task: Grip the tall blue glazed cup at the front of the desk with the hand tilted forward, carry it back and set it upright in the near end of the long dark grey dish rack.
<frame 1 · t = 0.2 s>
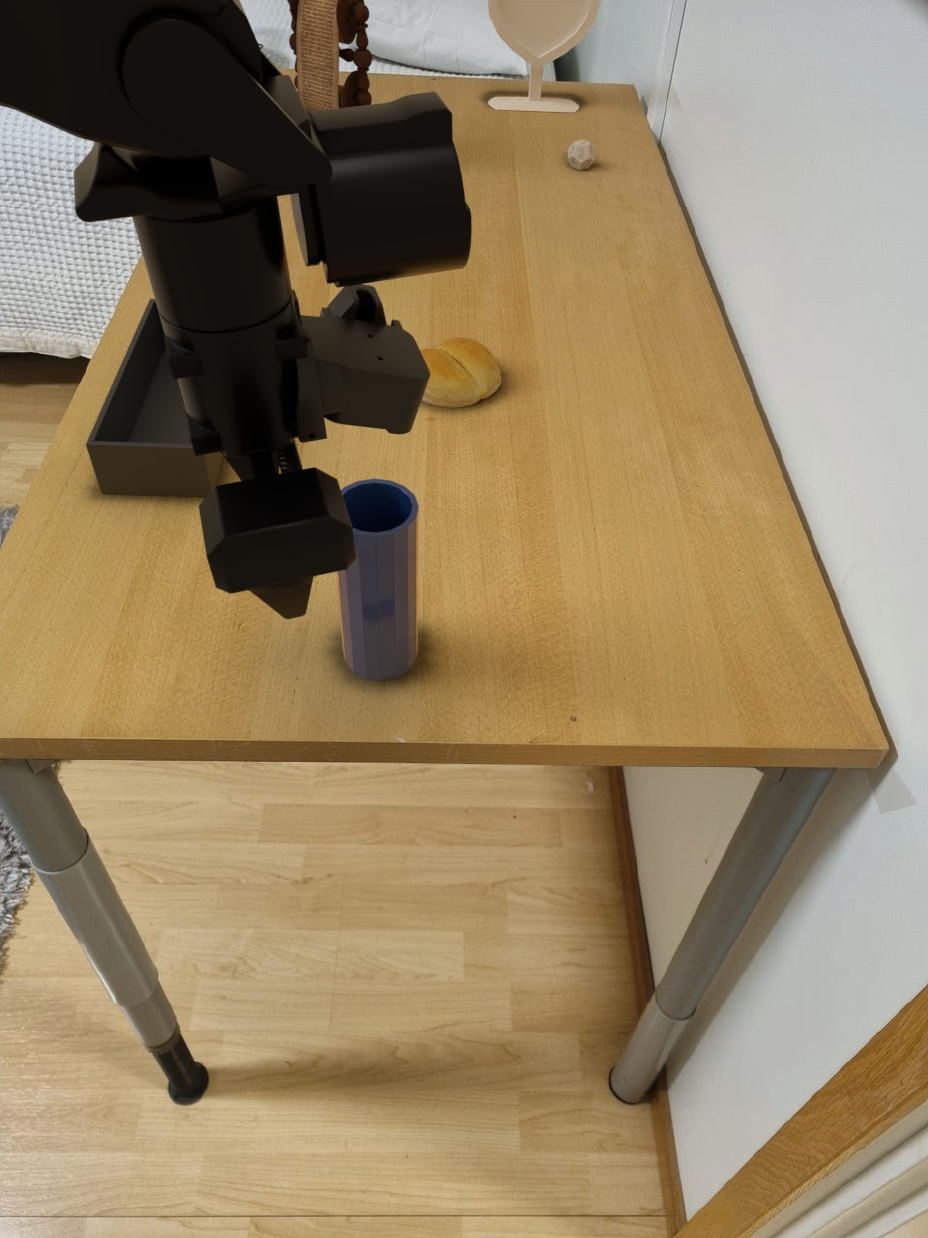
hand: (281, 555, 52), 15 cm above the table, tool pointing down, fingers open, 9 cm apart
cup: (380, 655, 66), on the table
basket: (185, 419, 84), on the table
heart sculpture: (533, 105, 138), on the table
bread roll: (452, 386, 89), on the table
game die: (579, 167, 124), on the table
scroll: (336, 157, 123), on the table
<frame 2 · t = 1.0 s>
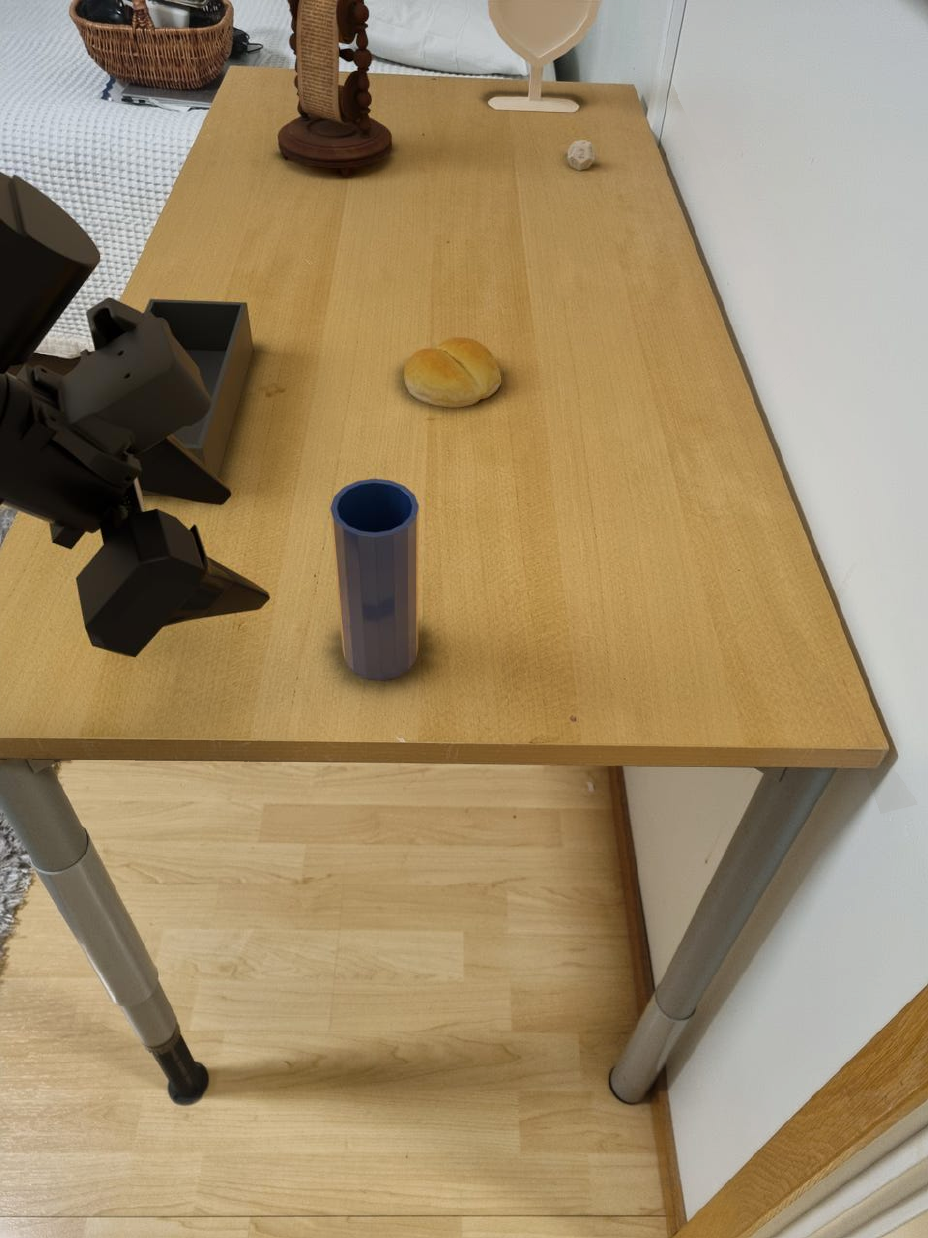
hand: (245, 547, 54), 13 cm above the table, tool tilted 45°, fingers open, 9 cm apart
nothing on the table moved.
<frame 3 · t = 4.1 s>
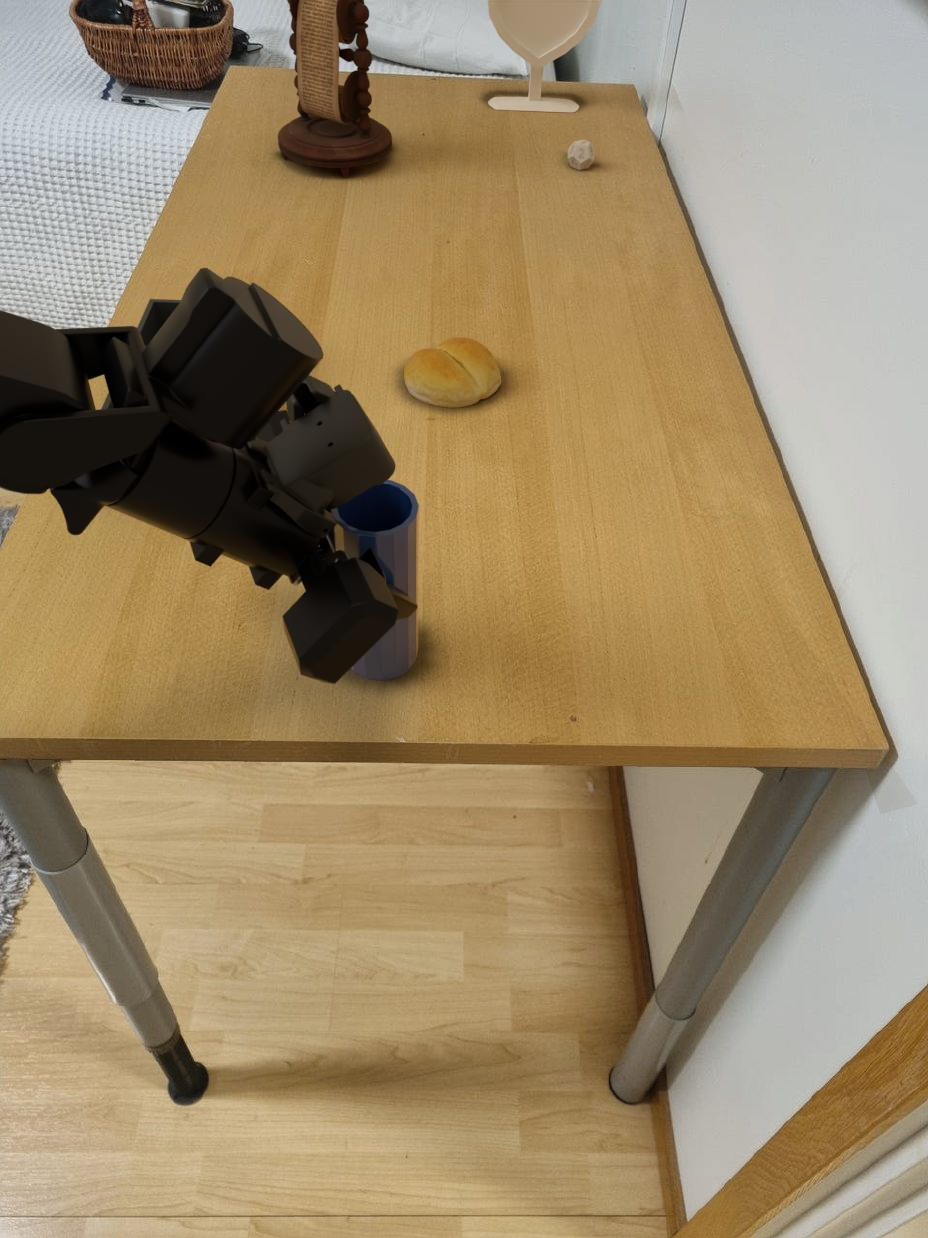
hand: (398, 581, 61), 7 cm above the table, tool tilted 45°, fingers closed on cup, 5 cm apart
cup: (381, 655, 66), on the table, touching gripper
everything else where it was.
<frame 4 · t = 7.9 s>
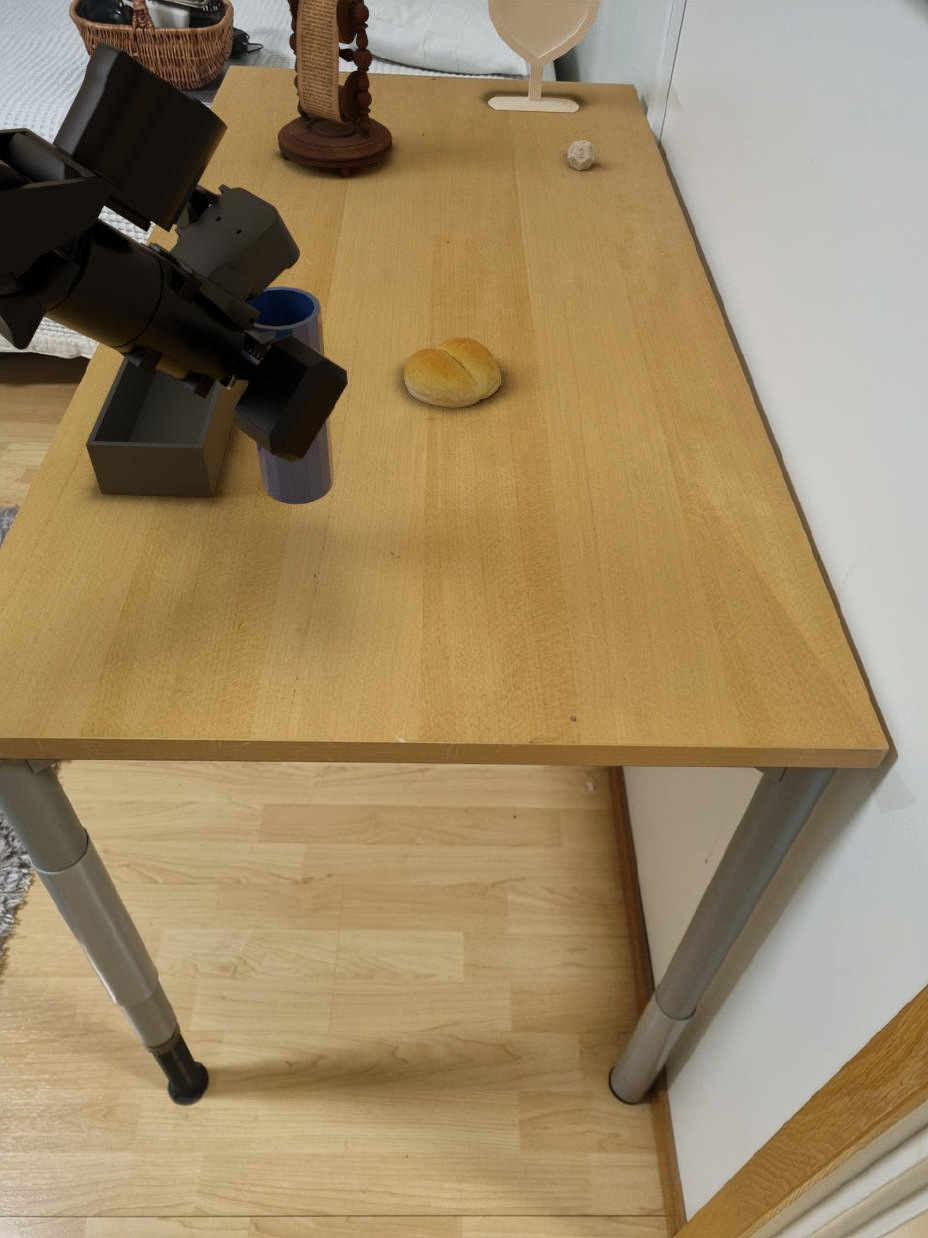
hand: (305, 392, 64), 13 cm above the table, tool tilted 45°, fingers closed on cup, 5 cm apart
cup: (298, 481, 69), point 6 cm above the table, touching gripper
everything else where it was.
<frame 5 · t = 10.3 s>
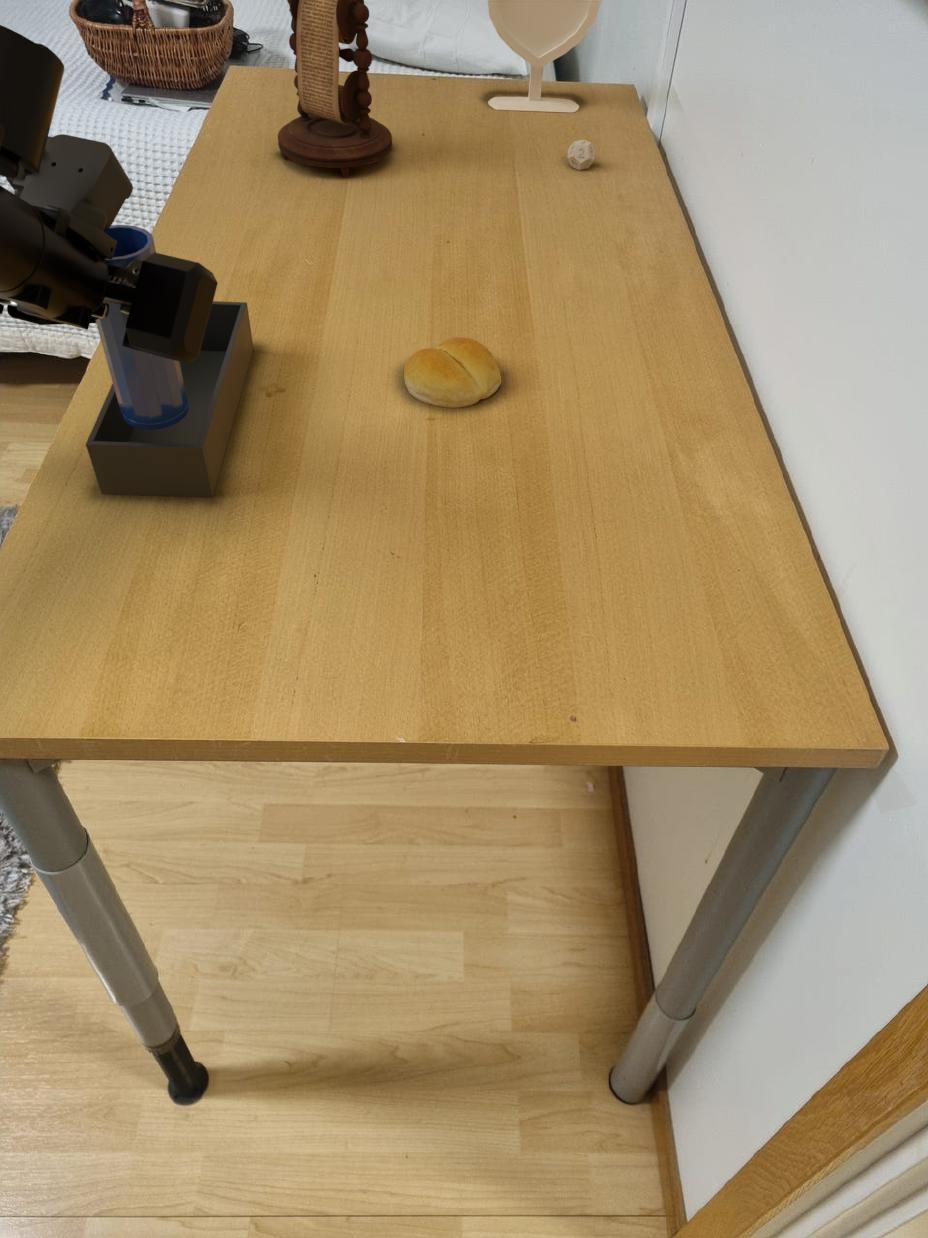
hand: (147, 322, 71), 13 cm above the table, tool tilted 45°, fingers closed on cup, 5 cm apart
cup: (155, 410, 75), point 6 cm above the table, touching gripper
everything else where it was.
when the fingers open (8 cm above the table, at t = 12.2 s): cup stays where it is, resting on basket.
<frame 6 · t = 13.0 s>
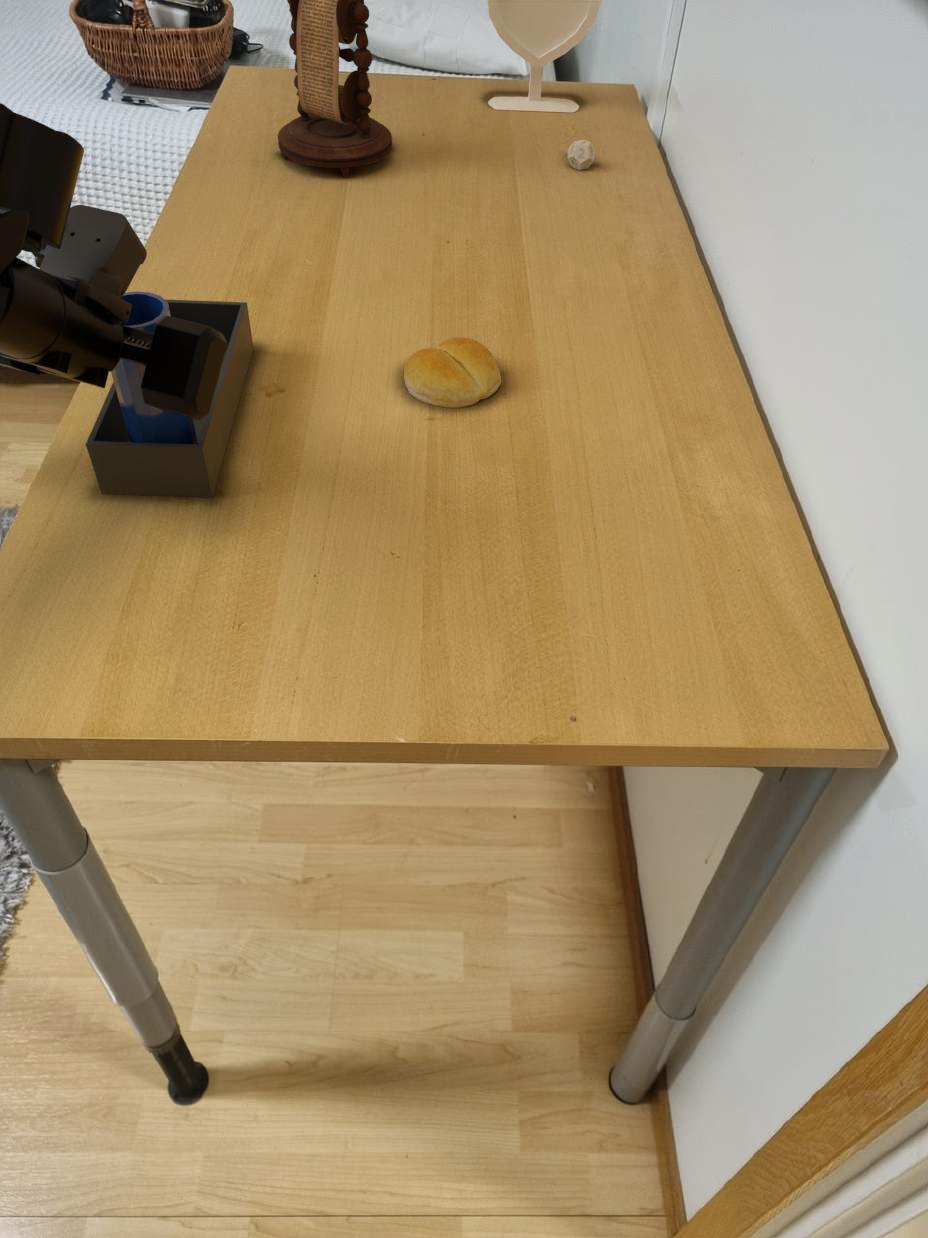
hand: (159, 373, 74), 8 cm above the table, tool tilted 45°, fingers open, 9 cm apart
cup: (169, 460, 79), resting on basket
everything else where it was.
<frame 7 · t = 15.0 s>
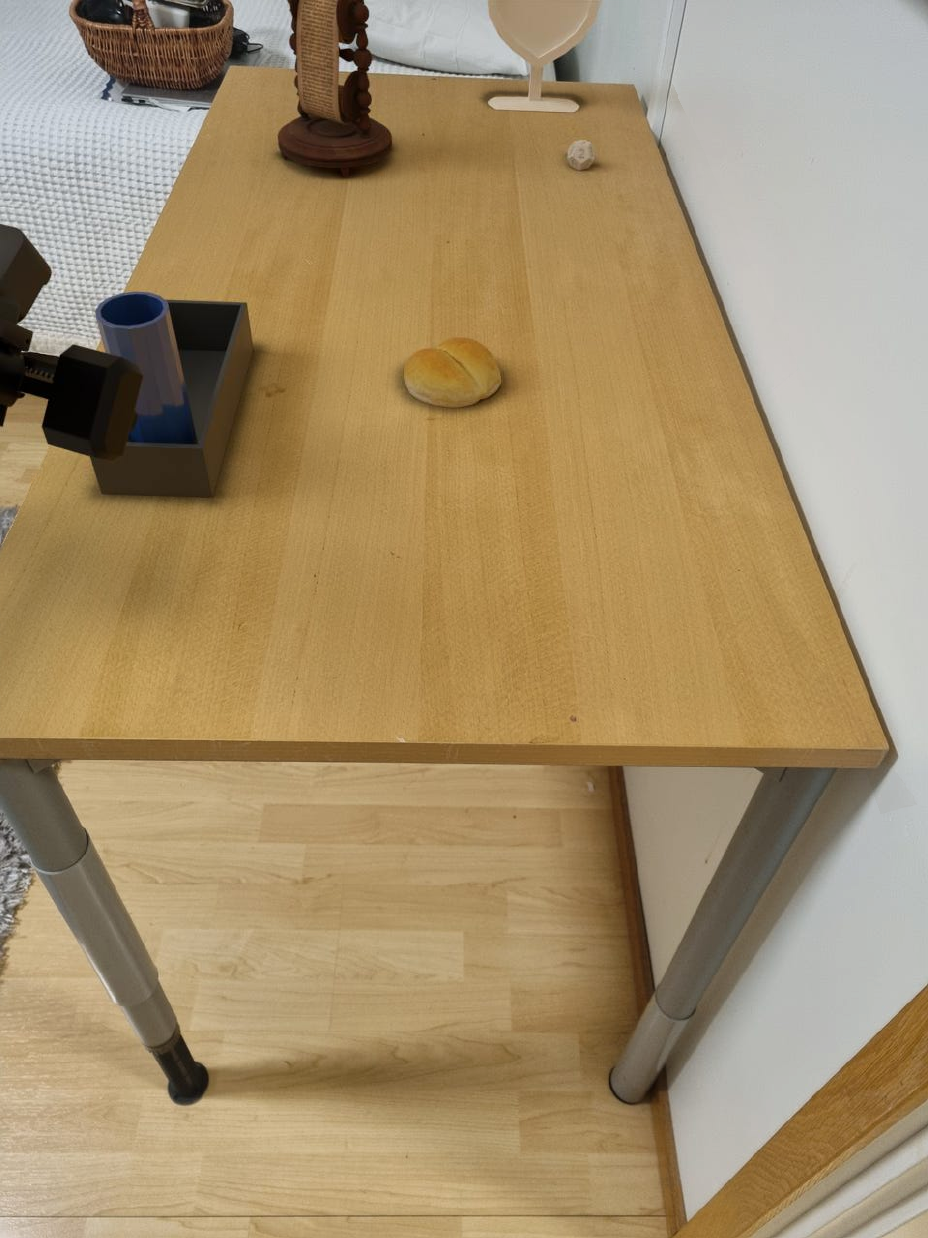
hand: (78, 405, 66), 11 cm above the table, tool tilted 45°, fingers open, 9 cm apart
nothing on the table moved.
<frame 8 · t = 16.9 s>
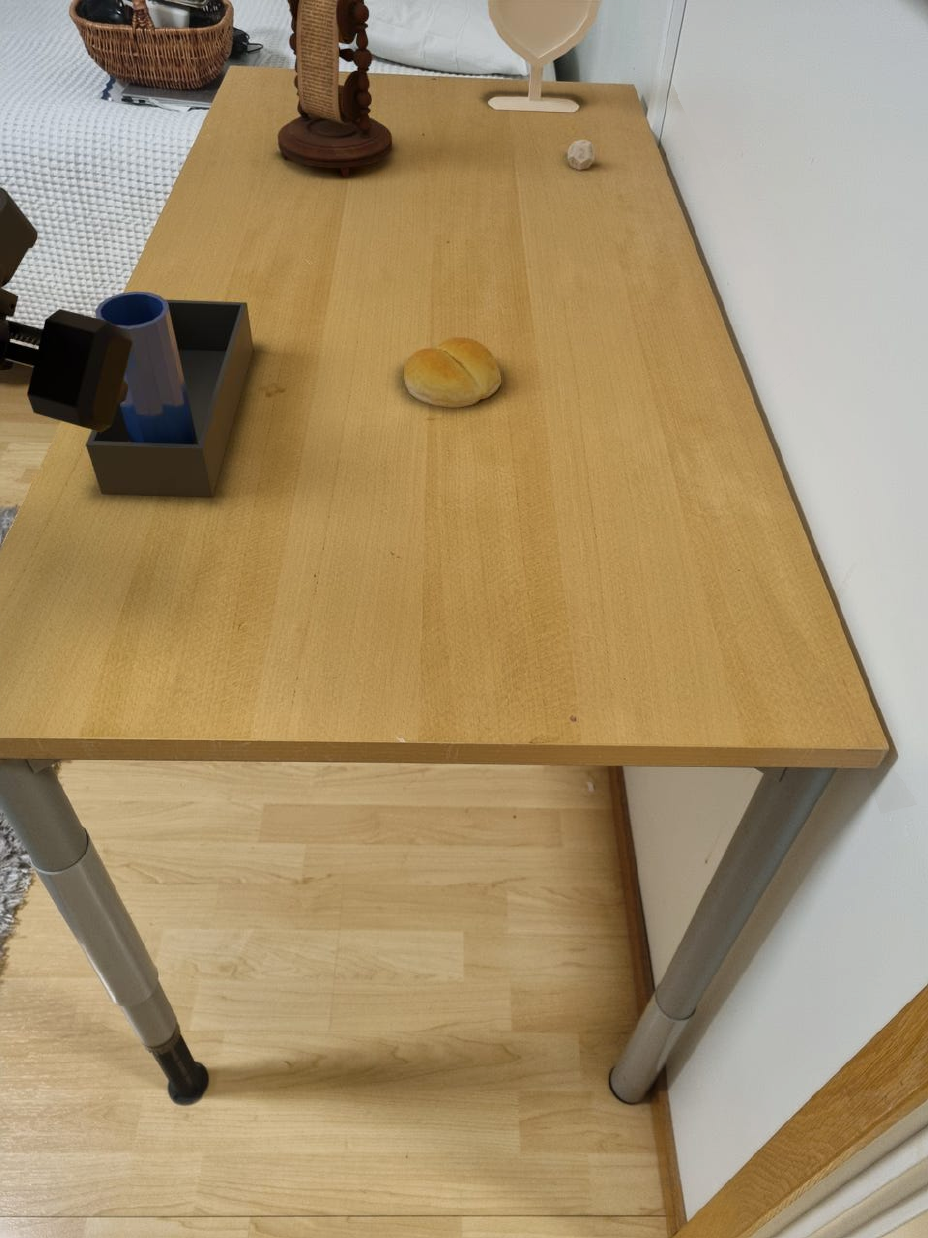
hand: (67, 377, 64), 14 cm above the table, tool tilted 45°, fingers open, 9 cm apart
nothing on the table moved.
at the end: cup 0.0 cm from the target spot in the basket, point 0.5 cm above the basket's base; cup tilted 0°; the gripper is holding nothing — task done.
